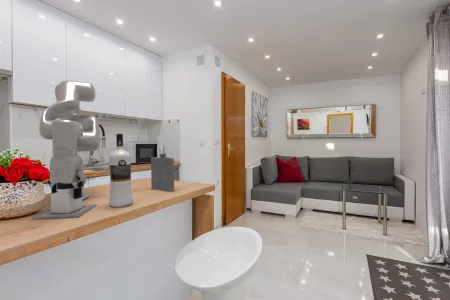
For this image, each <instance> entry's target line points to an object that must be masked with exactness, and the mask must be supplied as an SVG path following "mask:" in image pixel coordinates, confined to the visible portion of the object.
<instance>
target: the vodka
mask: <svg viewBox="0 0 450 300" xmlns="http://www.w3.org/2000/svg"><path fill="white" fill-rule="evenodd" d="M115 135H116V136H115V137H116V141H115V142H116V149H115V150H114V151H112V152H111V153H109V156H108V160H109V177H110V179H109V180H110V181H109V185H110V191H109V199H108V204H109V206H111V207H112V208H121V207H127V206H130V205H132V204H133V203H134V197H133V191H132V166H131V164H132V161H131V160H132V156H131V153H130V152H128V151H127V150H125V149H124V135H123V133H116V134H115Z"/></svg>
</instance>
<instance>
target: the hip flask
mask: <svg viewBox="0 0 450 300" xmlns="http://www.w3.org/2000/svg"><path fill="white" fill-rule="evenodd" d="M158 155H159V157H155V156H154V157H150V176H151V177H150V178H151V179H150V180H151V182H150V184H151V185H150V186H151V190H156V191H157V190H158V191H164V192H170V193H172V192H175V166H174V165H175V160H174V159H175V158H173V157H167V153H159V154H158Z"/></svg>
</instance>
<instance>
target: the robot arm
mask: <svg viewBox="0 0 450 300" xmlns="http://www.w3.org/2000/svg"><path fill="white" fill-rule="evenodd" d="M54 94H55V98H56V102H55V103H53V104H51V105H50V106H48V107H46V109H44V110H43V111H42V113H41V116H40V121H39V129H38V130H39V135H40V136H41V138H42V139H44V140H48V141H49V140H50V141H52V150H51V152H52V156H51V157H50V162H49V170H48V171H49V172H50V177H51V178H50V179H48V180H47V179H46V180H47V181H46V182H47V184H48V185H49V188H50V189H51V192H50V195H51V194H53V193H56V192H58V191H57V184H56V183H63V184H70V183H72V184H73V186H74V187H75V188H74V189H73V192H74V199H78V198H81V197H82V201H83V200H87V199H88V198H89V195H88V194H86V193H85V184H86V182H87V179H88V176H87V175H86V174H84V173H85V172H84V161H83V158H82V157H81V156H80V155H79V154H78V153H79V152H96V151H98V150H99V149H100V146H101V138H100V123H99V120H98V118H97V116H94V115H90V114H83V113H82V109H81V108H80V105H81V103H80V102H83V103H84V102H86V103H87V102H88V103H93V102H94V101H95V99H96V89H95V87H94V85H93V84H92V83H90V82H86V81H78V80H77V81H76V80H63V81H60V82H59V83H58V84H57V85H55V87H54Z"/></svg>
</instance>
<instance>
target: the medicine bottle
mask: <svg viewBox="0 0 450 300" xmlns="http://www.w3.org/2000/svg"><path fill="white" fill-rule="evenodd" d="M56 184H57V191H58V192H56V193H53V194H51V193H50V209H51V213H71V212H73V211H76V210H78V209H81V208H82V205H83V200H82V197H81V198H78V199H74V192H73V189H74V188H75V187H74V186H73V184H72V183H70V184H63V183H56Z"/></svg>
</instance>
